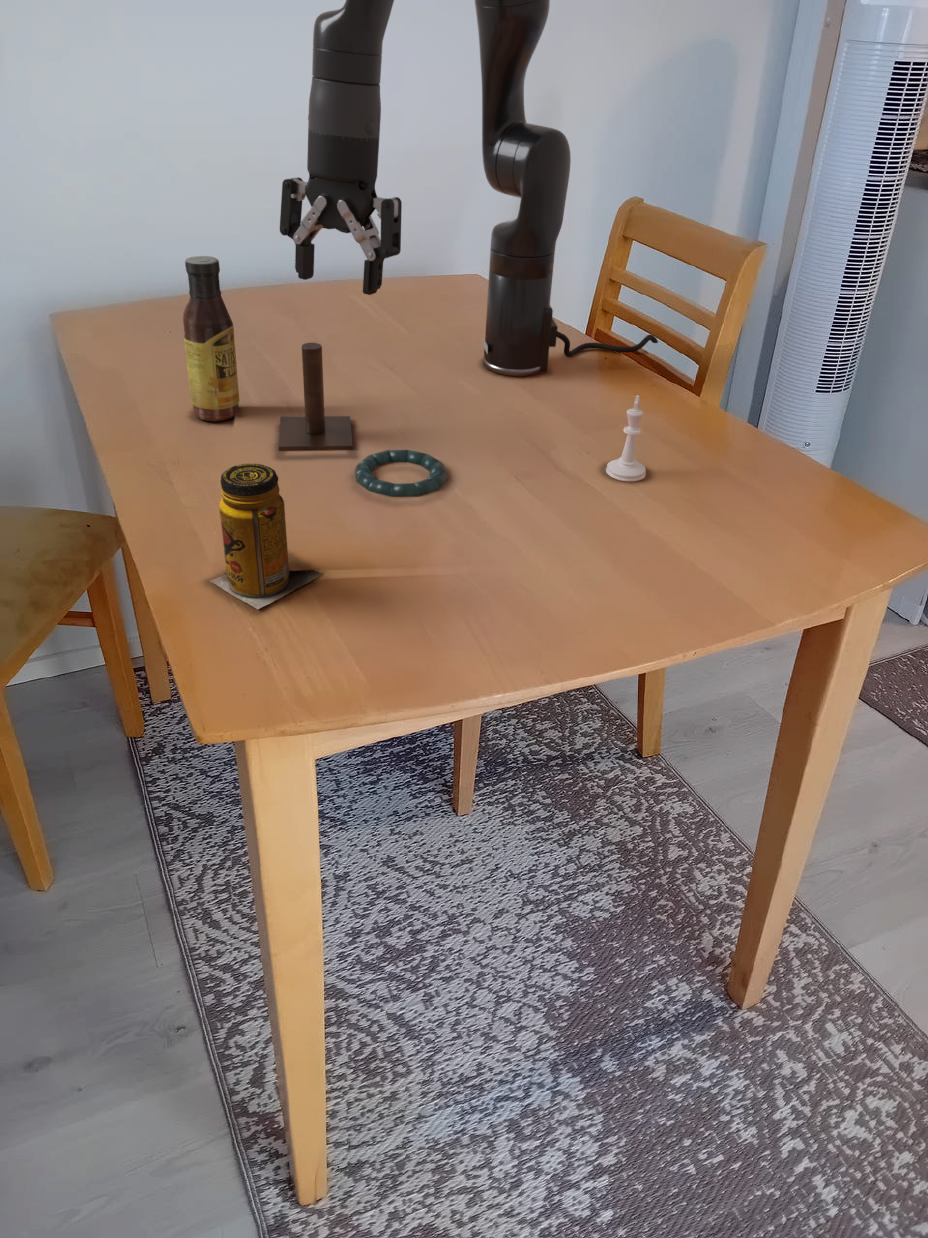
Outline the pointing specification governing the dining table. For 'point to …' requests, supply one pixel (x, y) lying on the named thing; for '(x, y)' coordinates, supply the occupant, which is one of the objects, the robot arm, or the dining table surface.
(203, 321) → the sauce bottle
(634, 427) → the chess piece
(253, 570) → the condiment
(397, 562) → the dining table surface
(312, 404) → the peg stand
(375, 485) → the ring
